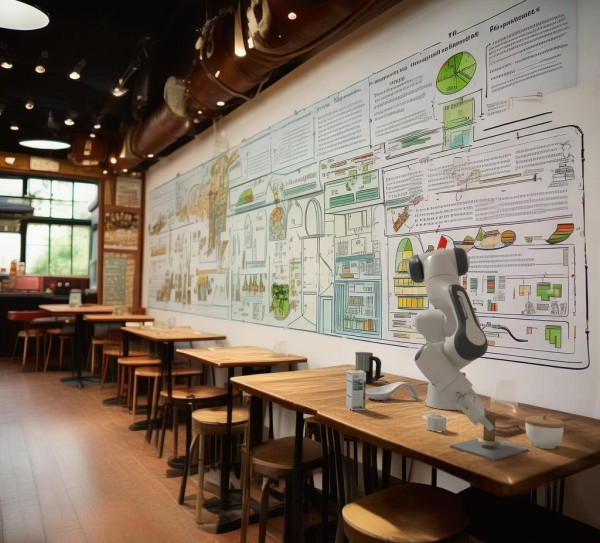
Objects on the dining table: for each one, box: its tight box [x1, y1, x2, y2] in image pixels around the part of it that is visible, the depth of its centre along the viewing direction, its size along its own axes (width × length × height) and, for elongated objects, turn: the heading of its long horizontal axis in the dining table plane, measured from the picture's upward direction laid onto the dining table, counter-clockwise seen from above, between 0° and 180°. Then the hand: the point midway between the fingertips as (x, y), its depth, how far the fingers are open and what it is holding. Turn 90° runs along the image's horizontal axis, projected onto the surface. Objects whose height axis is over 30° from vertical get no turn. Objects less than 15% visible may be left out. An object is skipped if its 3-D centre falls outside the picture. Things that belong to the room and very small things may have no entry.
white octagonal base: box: [425, 413, 447, 432], centre depth 172 cm, size 6×6×4 cm
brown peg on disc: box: [477, 413, 502, 446], centre depth 152 cm, size 6×6×8 cm
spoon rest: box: [365, 381, 419, 401], centre depth 222 cm, size 24×12×7 cm, turn 109°
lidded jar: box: [524, 413, 565, 450], centre depth 158 cm, size 11×11×9 cm
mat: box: [449, 438, 529, 461], centre depth 152 cm, size 18×14×1 cm
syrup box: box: [345, 370, 367, 411], centre depth 199 cm, size 6×6×14 cm
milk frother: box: [354, 351, 385, 384], centre depth 265 cm, size 14×16×15 cm
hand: (491, 427), depth 152 cm, fingers closed on brown peg on disc, 3 cm apart
